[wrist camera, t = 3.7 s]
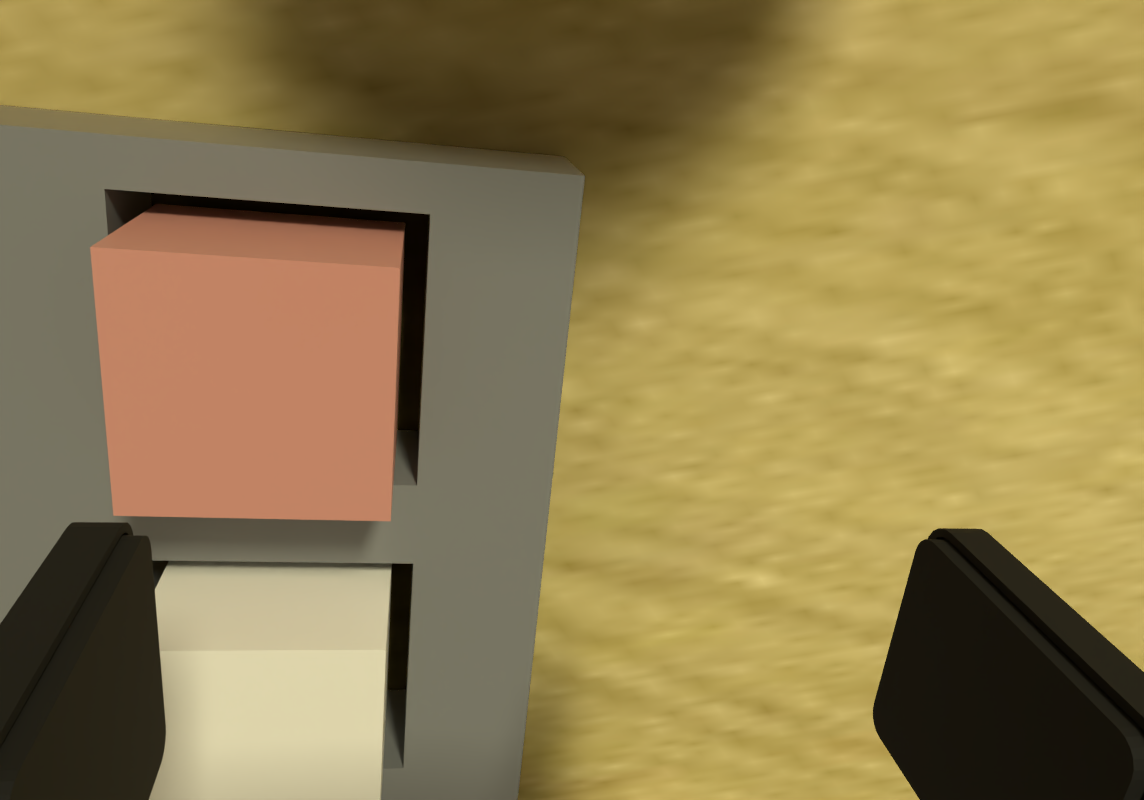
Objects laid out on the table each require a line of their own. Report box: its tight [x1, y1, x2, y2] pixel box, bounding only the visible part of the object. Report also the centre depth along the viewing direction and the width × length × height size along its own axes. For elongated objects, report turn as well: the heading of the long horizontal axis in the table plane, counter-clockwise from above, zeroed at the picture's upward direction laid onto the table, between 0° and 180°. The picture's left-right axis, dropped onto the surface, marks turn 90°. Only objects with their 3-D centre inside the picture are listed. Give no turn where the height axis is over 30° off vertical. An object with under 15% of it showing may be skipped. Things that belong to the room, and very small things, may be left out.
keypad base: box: [0, 105, 585, 800], centre depth 23 cm, size 12×24×3 cm, turn 174°
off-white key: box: [149, 561, 392, 800], centre depth 21 cm, size 5×5×4 cm
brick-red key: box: [90, 204, 405, 521], centre depth 18 cm, size 5×5×4 cm
